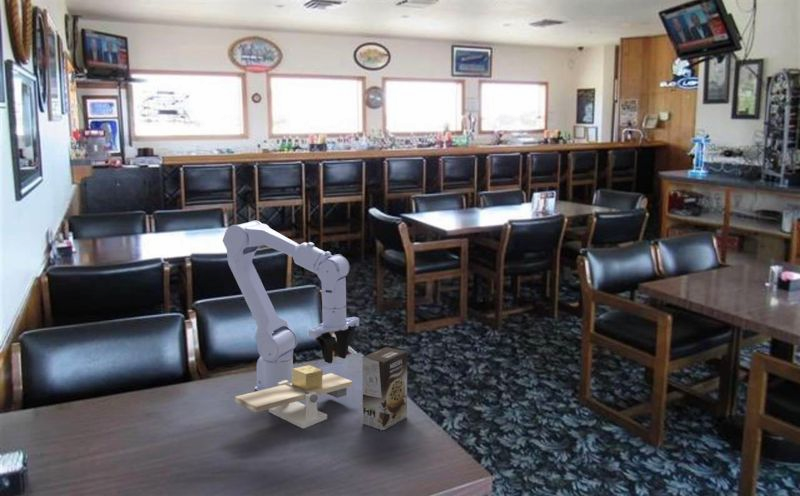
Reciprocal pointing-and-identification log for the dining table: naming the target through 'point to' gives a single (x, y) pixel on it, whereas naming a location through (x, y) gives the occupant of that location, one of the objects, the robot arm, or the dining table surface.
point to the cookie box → (384, 388)
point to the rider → (307, 377)
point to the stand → (300, 410)
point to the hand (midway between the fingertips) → (335, 359)
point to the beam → (292, 393)
